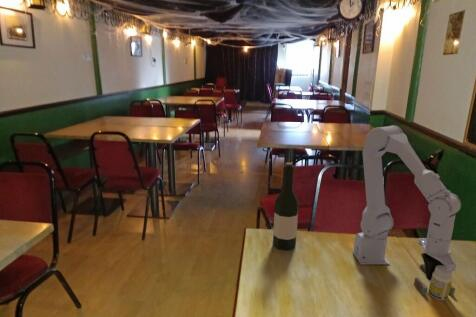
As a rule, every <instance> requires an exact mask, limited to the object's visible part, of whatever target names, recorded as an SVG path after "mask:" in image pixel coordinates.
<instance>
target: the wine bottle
mask: <svg viewBox="0 0 476 317" xmlns="http://www.w3.org/2000/svg"><path fill="white" fill-rule="evenodd" d="M284 163H285V164H284V165H283V173H282V174H283V178H282V189H281V191H280V192H279V194H278V195H277V197H276V198H275V200H274V213H273V214H274V215H273V216H274V217H273V232H272V233H273V236H272V247H274V248H276V249H277V250H279V251H286V252H287V251H292V250H295V249H296V245H297V233H298V231H297V230H298V217H299V204H300V203H299V201H300V200H299V198H298V197H297V195H296V193H295V191H294V190H293V188H294V186H293V184H294V171H295V170H294V169H295V165H293V164H294V163H292V162H284Z"/></svg>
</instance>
